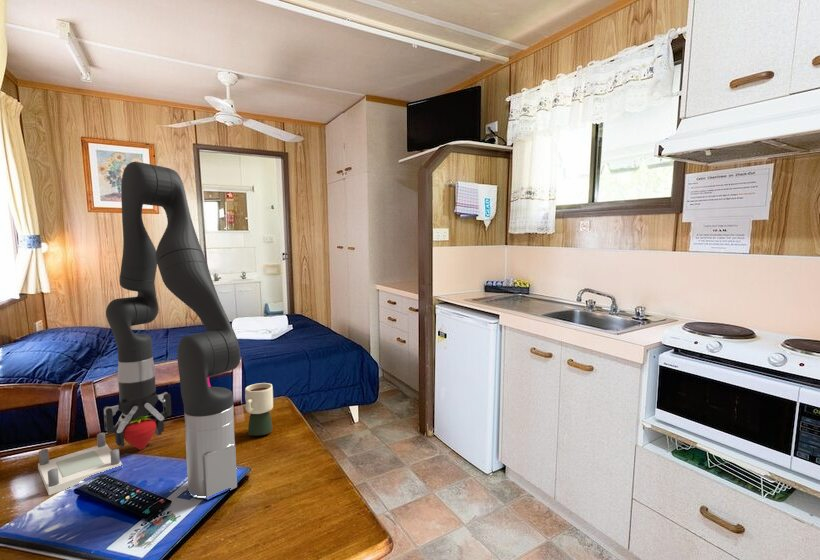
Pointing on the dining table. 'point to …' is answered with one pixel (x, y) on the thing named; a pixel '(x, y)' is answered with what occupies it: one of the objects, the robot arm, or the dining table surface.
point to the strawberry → (140, 431)
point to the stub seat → (76, 465)
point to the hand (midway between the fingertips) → (140, 439)
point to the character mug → (259, 408)
